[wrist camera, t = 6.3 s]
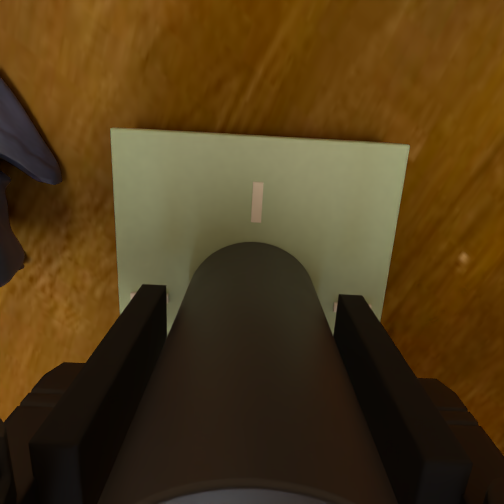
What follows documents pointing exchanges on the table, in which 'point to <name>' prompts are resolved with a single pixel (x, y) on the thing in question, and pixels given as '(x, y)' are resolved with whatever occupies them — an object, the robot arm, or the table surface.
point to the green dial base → (255, 208)
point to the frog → (26, 159)
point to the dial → (249, 398)
